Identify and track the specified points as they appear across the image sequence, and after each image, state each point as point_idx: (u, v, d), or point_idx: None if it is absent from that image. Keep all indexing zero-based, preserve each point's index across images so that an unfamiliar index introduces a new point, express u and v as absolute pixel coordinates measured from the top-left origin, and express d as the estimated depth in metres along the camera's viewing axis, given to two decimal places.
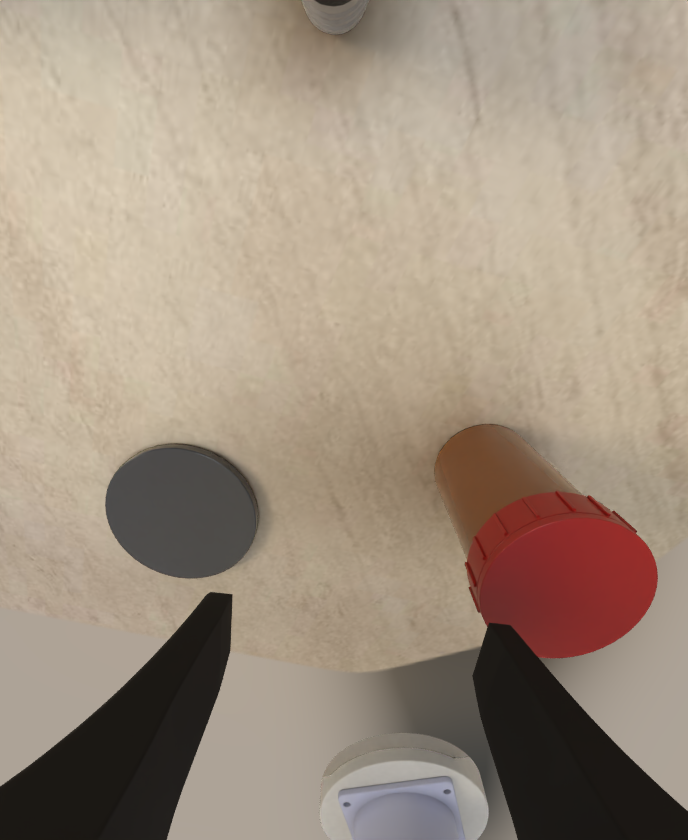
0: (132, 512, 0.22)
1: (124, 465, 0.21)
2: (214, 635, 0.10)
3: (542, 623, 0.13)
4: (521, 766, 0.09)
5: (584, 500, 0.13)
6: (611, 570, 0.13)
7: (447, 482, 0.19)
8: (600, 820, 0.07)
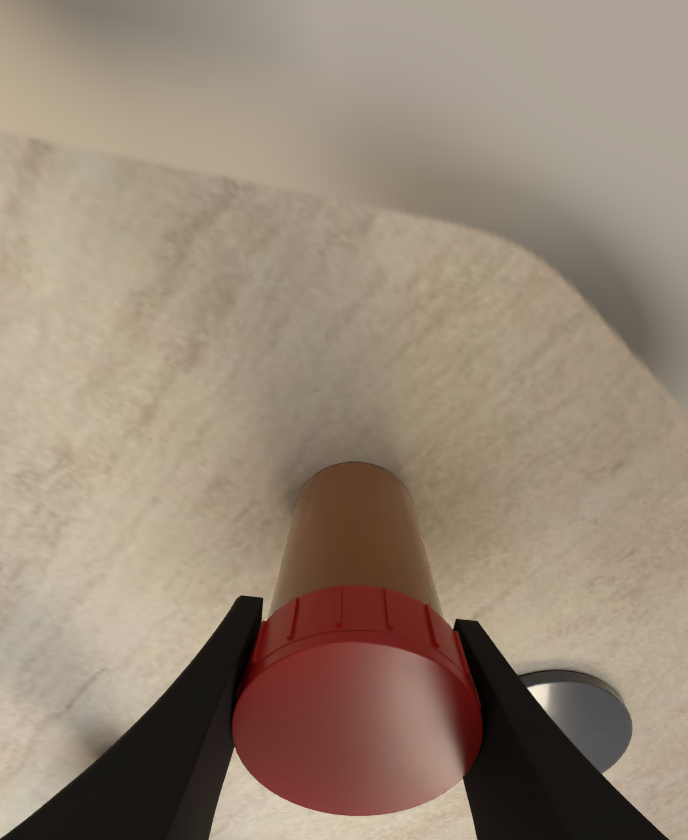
0: None
1: None
2: (249, 639, 0.10)
3: (419, 737, 0.09)
4: (480, 762, 0.09)
5: None
6: (293, 717, 0.09)
7: None
8: (545, 815, 0.07)
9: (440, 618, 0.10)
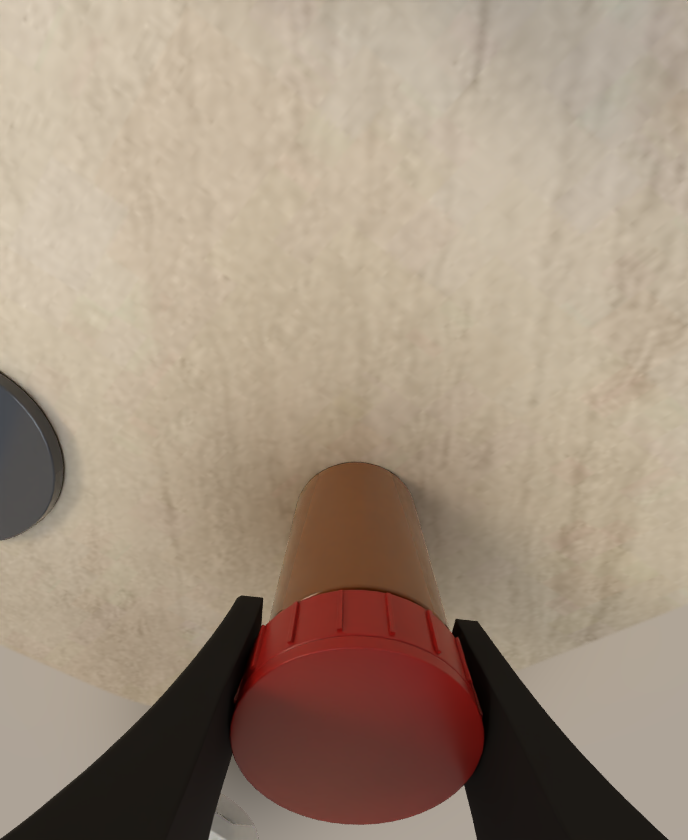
0: None
1: None
2: (249, 639, 0.10)
3: (419, 745, 0.09)
4: (480, 762, 0.09)
5: None
6: (292, 723, 0.09)
7: (296, 521, 0.14)
8: (545, 815, 0.07)
9: (441, 624, 0.10)
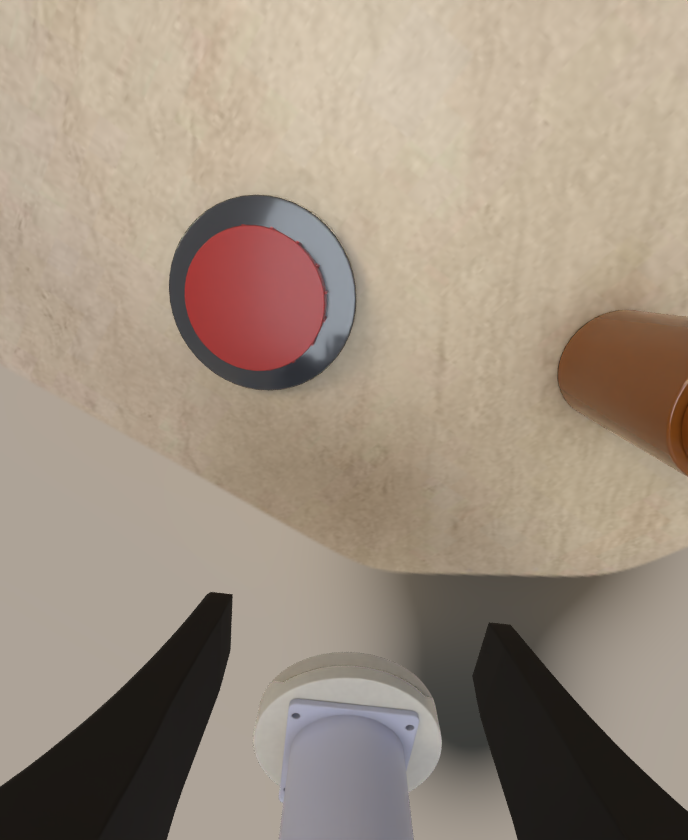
0: None
1: (223, 203, 0.16)
2: (214, 635, 0.10)
3: (288, 301, 0.16)
4: (521, 766, 0.09)
5: None
6: (218, 285, 0.16)
7: (604, 345, 0.16)
8: (600, 820, 0.07)
9: (308, 253, 0.17)
